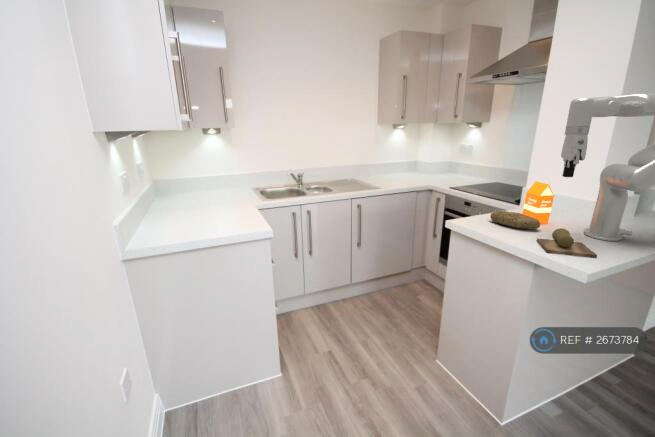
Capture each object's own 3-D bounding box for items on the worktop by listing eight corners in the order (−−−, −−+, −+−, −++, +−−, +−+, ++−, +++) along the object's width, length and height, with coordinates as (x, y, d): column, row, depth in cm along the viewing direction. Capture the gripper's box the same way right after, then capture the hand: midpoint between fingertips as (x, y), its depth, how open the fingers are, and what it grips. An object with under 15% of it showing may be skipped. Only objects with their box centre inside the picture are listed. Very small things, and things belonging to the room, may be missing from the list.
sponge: (487, 224, 156) (524, 229, 137) (488, 209, 155) (526, 211, 137) (505, 226, 160) (544, 230, 142) (507, 211, 160) (546, 213, 142)
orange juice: (534, 218, 160) (542, 180, 154) (548, 224, 152) (557, 184, 146) (520, 219, 159) (528, 181, 153) (533, 224, 151) (542, 184, 145)
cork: (555, 226, 129) (560, 232, 119) (572, 230, 126) (579, 237, 117) (549, 239, 130) (554, 246, 121) (566, 244, 128) (572, 251, 118)
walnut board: (581, 245, 126) (581, 242, 126) (596, 258, 114) (597, 255, 114) (536, 240, 131) (536, 238, 130) (546, 252, 119) (547, 249, 119)
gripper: (598, 131, 114) (587, 180, 120) (578, 130, 128) (569, 173, 134) (575, 132, 116) (565, 180, 122) (557, 130, 130) (549, 173, 136)
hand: (567, 176), depth 128 cm, fingers closed
